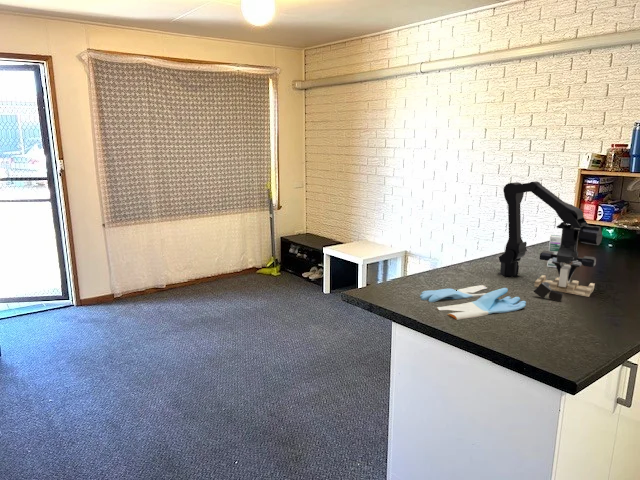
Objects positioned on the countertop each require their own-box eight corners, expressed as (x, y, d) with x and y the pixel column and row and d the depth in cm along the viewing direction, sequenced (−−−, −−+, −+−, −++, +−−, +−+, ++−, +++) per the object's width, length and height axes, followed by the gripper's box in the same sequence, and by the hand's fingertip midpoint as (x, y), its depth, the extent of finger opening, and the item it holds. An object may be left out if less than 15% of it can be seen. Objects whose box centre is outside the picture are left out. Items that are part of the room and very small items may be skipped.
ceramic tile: (558, 286, 179) (560, 268, 177) (562, 281, 185) (564, 264, 184) (565, 287, 177) (567, 269, 176) (569, 282, 183) (571, 265, 182)
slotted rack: (588, 296, 171) (589, 291, 171) (534, 286, 183) (534, 281, 182) (594, 289, 180) (594, 283, 180) (541, 280, 192) (542, 275, 191)
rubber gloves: (410, 295, 173) (411, 279, 172) (482, 286, 184) (483, 271, 183) (456, 321, 148) (457, 302, 147) (535, 309, 159) (537, 291, 158)
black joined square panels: (554, 305, 169) (565, 295, 166) (554, 307, 167) (565, 296, 164) (534, 290, 172) (544, 279, 169) (533, 291, 170) (543, 280, 168)
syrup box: (546, 266, 213) (549, 236, 210) (547, 264, 218) (550, 233, 215) (560, 268, 210) (564, 237, 207) (560, 265, 215) (564, 235, 212)
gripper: (538, 241, 177) (533, 280, 180) (593, 247, 166) (588, 289, 169) (545, 236, 186) (541, 274, 189) (598, 242, 174) (593, 282, 178)
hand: (564, 279), depth 181 cm, fingers closed on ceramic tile, 2 cm apart
